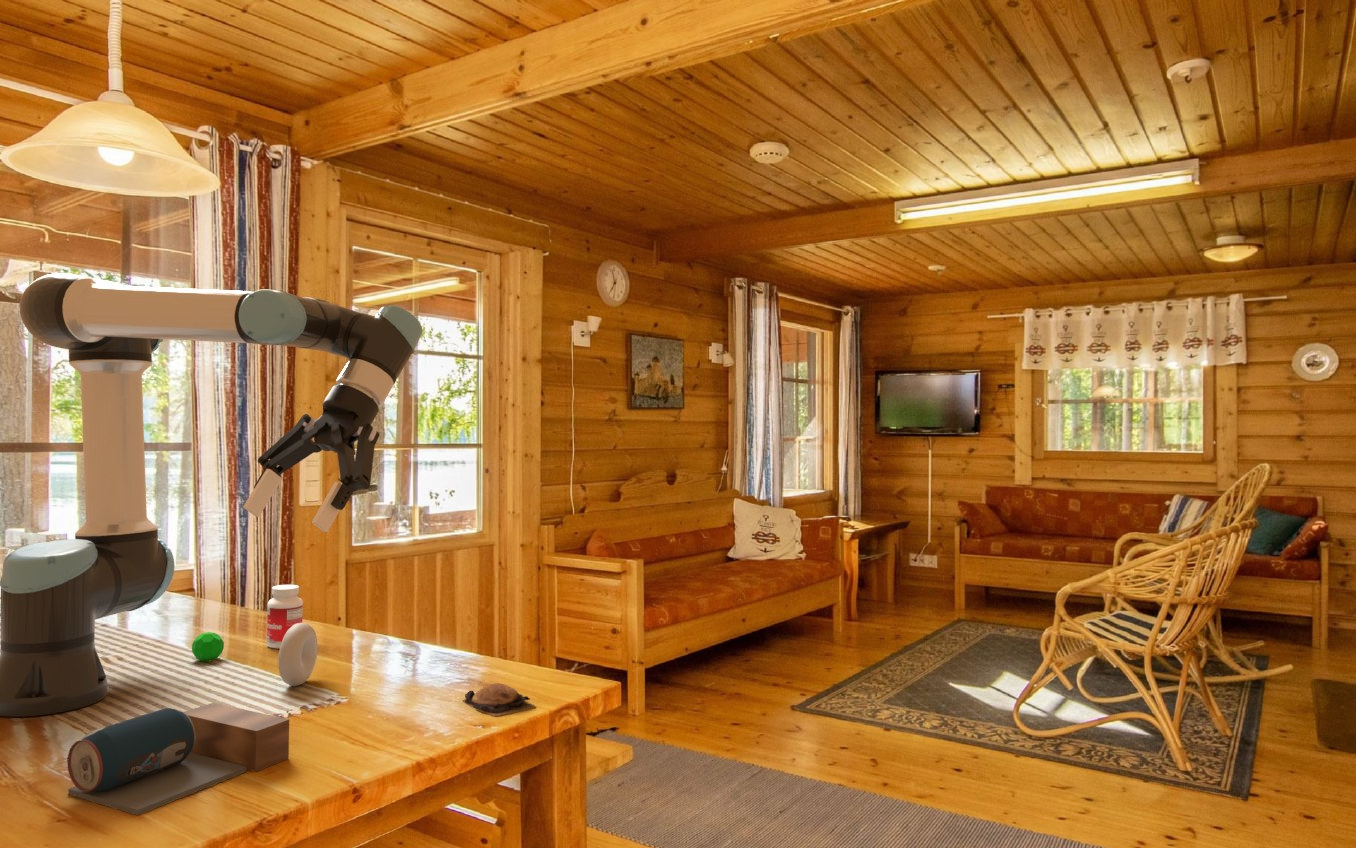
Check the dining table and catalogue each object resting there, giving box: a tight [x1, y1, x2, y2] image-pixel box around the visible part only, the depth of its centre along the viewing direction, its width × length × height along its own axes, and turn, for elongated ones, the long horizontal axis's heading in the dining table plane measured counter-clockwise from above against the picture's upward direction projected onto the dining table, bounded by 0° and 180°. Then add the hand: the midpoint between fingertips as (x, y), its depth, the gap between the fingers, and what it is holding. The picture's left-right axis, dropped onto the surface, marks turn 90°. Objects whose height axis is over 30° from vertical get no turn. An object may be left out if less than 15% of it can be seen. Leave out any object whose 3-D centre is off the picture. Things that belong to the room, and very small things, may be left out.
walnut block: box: [183, 702, 290, 773], centre depth 118 cm, size 14×5×5 cm, turn 65°
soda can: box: [66, 707, 196, 792], centre depth 109 cm, size 7×7×12 cm
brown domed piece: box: [462, 682, 537, 718], centre depth 141 cm, size 11×8×4 cm
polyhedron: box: [191, 631, 225, 662], centre depth 162 cm, size 5×5×5 cm
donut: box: [277, 622, 319, 687], centre depth 149 cm, size 10×4×10 cm, turn 0°
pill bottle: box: [266, 584, 304, 650], centre depth 173 cm, size 6×6×11 cm
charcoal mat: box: [67, 752, 247, 816], centre depth 109 cm, size 12×14×1 cm
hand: (284, 520), depth 129 cm, fingers open, 13 cm apart
